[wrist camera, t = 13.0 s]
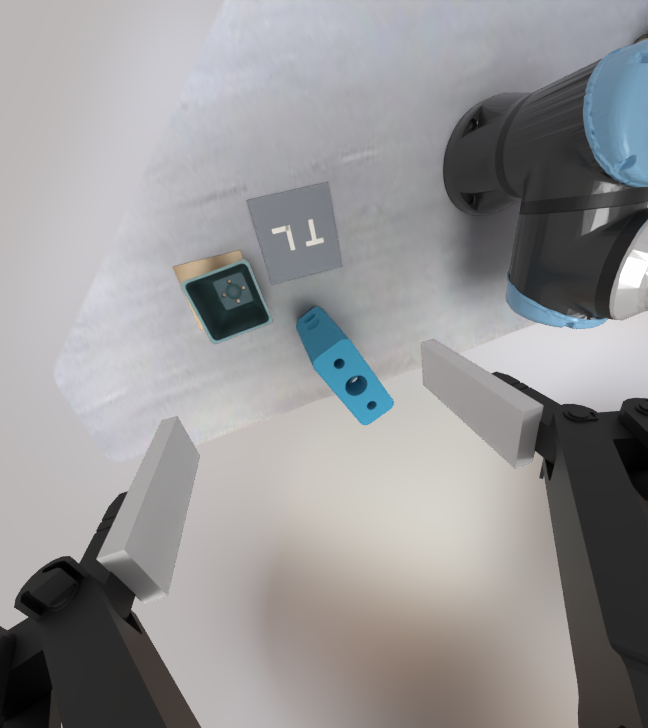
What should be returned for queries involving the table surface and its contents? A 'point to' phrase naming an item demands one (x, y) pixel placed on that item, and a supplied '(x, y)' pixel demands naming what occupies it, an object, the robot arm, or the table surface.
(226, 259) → the cork mat
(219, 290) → the flower pot
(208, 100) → the table surface
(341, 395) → the block
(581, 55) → the table surface
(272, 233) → the tile
